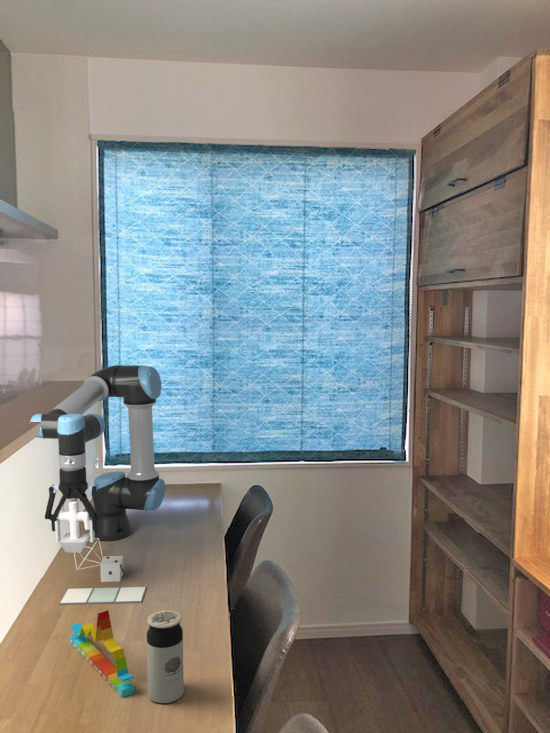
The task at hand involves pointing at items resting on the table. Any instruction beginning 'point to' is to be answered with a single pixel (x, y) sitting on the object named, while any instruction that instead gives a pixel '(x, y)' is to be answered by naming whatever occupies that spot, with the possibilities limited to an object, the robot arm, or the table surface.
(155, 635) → the travel mug
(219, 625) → the table surface
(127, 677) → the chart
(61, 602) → the game mat
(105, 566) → the die
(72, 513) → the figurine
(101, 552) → the geometric polyhedron
